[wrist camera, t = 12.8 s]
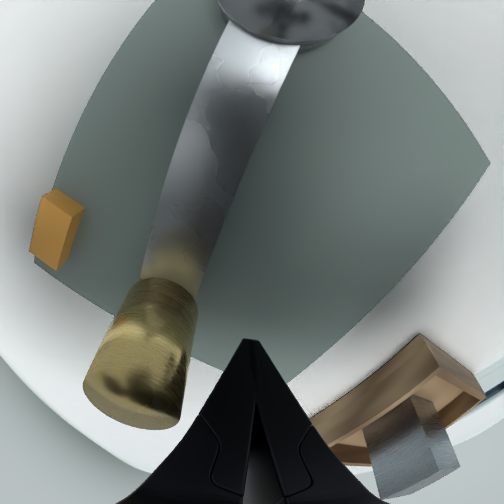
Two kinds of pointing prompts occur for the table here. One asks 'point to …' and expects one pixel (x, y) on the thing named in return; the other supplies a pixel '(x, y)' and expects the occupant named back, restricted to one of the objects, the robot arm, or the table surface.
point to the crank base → (264, 185)
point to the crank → (202, 203)
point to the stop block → (409, 448)
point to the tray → (398, 397)
